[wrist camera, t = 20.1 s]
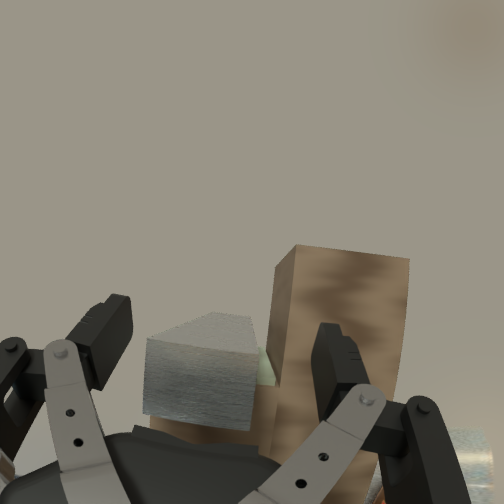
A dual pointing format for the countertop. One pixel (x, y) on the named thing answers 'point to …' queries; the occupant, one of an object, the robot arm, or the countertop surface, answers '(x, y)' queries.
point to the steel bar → (203, 372)
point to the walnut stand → (300, 348)
